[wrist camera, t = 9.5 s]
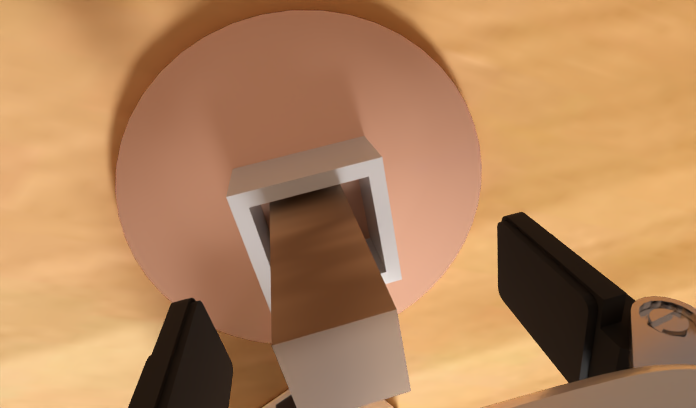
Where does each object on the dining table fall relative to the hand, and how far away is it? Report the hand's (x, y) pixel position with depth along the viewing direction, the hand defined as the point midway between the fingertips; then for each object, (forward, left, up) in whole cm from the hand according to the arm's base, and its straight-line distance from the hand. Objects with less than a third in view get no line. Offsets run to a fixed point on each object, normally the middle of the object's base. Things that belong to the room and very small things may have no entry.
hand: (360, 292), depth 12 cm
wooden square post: (+1, 0, -6) cm, 6 cm away
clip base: (+1, 0, -7) cm, 7 cm away
